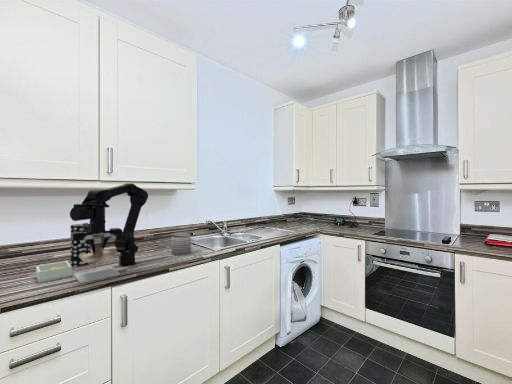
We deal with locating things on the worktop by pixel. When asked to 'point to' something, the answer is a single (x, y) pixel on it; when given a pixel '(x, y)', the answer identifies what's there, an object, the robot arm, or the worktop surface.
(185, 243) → the can
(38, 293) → the worktop surface
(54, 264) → the dish
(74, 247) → the white-spotted black cylinder
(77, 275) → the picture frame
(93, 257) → the cover
